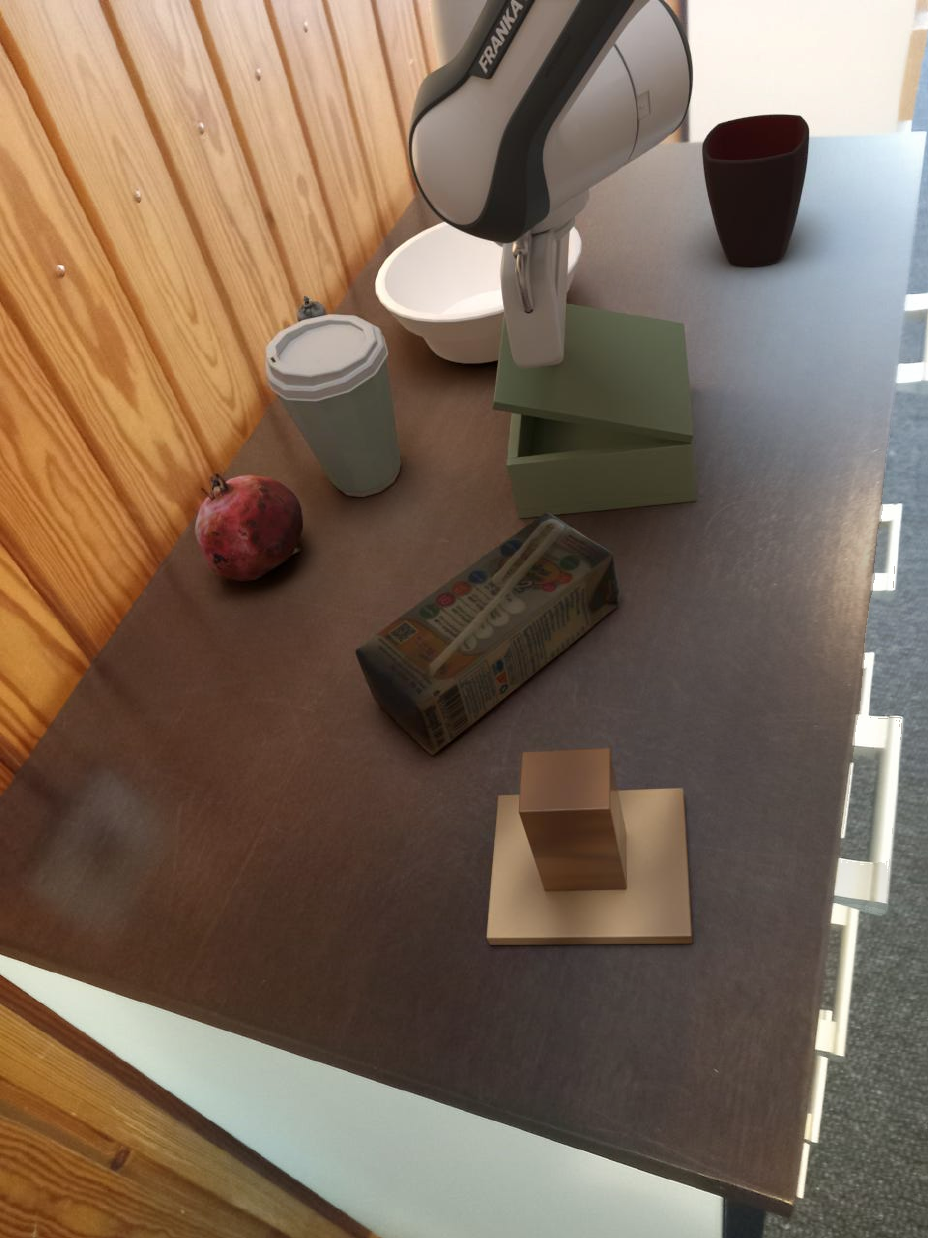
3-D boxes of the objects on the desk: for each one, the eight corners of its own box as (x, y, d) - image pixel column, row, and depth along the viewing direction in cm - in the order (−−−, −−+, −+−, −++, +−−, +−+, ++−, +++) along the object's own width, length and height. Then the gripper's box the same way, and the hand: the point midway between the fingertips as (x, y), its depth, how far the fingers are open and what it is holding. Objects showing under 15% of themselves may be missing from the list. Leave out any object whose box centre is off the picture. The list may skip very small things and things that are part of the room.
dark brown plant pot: (701, 279, 106) (695, 165, 98) (718, 212, 115) (714, 102, 106) (802, 275, 103) (805, 156, 94) (812, 206, 112) (815, 91, 103)
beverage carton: (627, 607, 78) (618, 545, 73) (434, 765, 72) (410, 708, 67) (556, 561, 83) (543, 500, 78) (369, 705, 77) (343, 648, 72)
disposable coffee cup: (399, 426, 101) (354, 288, 90) (443, 482, 93) (400, 339, 82) (300, 472, 99) (242, 337, 88) (337, 532, 92) (279, 393, 81)
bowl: (516, 257, 118) (502, 188, 112) (634, 320, 104) (626, 245, 98) (361, 341, 113) (338, 273, 107) (463, 419, 99) (444, 345, 93)
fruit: (337, 549, 90) (300, 460, 83) (251, 614, 87) (205, 527, 80) (279, 510, 96) (239, 423, 88) (196, 570, 92) (148, 485, 85)
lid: (492, 409, 79) (493, 401, 79) (505, 300, 90) (507, 292, 89) (691, 443, 80) (694, 435, 79) (681, 331, 91) (684, 323, 90)
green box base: (519, 518, 88) (506, 465, 83) (528, 406, 98) (517, 354, 94) (697, 501, 84) (693, 444, 80) (687, 387, 95) (683, 331, 91)
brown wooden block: (626, 831, 64) (610, 747, 58) (627, 890, 61) (610, 808, 55) (546, 833, 65) (522, 751, 59) (544, 891, 63) (518, 812, 56)
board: (684, 796, 66) (683, 787, 65) (692, 944, 59) (691, 936, 59) (500, 803, 69) (497, 794, 68) (489, 945, 62) (486, 938, 61)
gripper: (565, 250, 67) (591, 422, 76) (572, 118, 80) (593, 279, 90) (470, 265, 68) (507, 432, 78) (492, 132, 82) (522, 289, 91)
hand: (553, 349), depth 84 cm, fingers closed, pressing on lid
